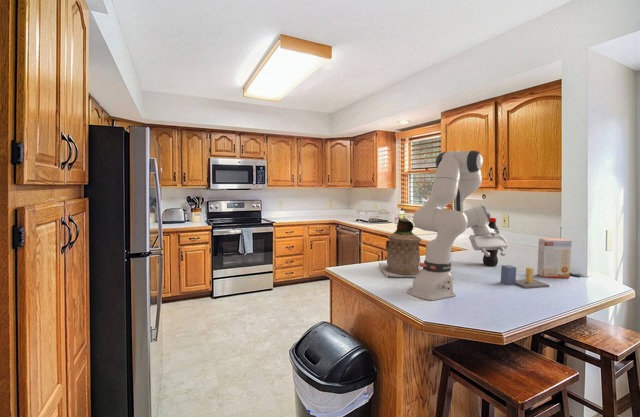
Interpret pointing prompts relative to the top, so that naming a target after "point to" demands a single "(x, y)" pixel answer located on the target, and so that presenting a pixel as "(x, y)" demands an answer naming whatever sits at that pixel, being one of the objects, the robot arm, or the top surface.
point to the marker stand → (530, 281)
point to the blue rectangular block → (508, 274)
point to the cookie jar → (402, 252)
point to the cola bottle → (492, 259)
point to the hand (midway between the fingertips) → (496, 255)
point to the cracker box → (554, 258)
